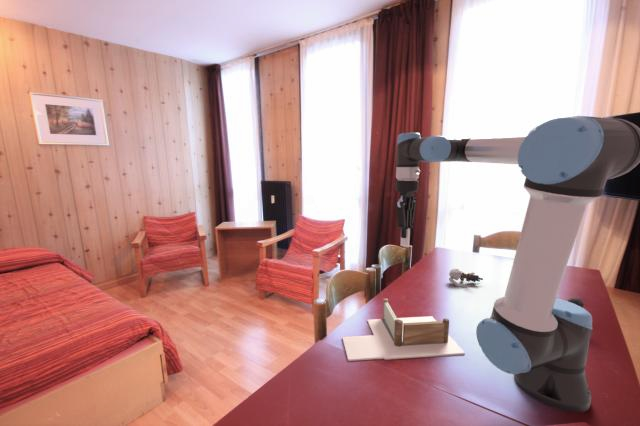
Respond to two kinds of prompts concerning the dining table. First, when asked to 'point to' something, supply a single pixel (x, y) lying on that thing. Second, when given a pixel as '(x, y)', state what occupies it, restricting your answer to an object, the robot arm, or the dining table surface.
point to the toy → (462, 277)
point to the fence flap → (389, 316)
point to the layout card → (384, 347)
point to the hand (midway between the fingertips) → (404, 246)
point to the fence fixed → (421, 332)
